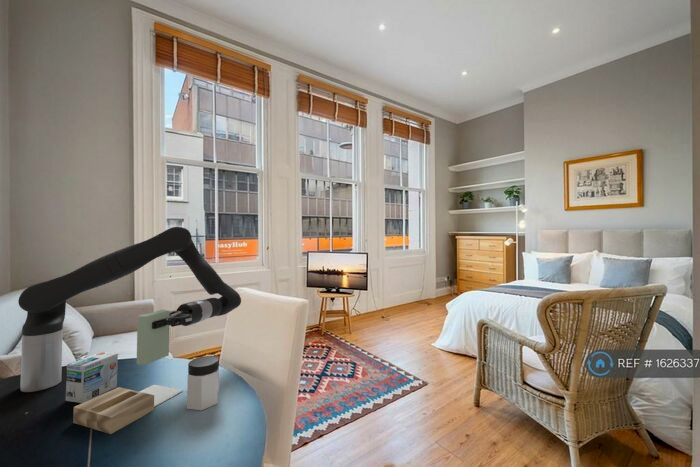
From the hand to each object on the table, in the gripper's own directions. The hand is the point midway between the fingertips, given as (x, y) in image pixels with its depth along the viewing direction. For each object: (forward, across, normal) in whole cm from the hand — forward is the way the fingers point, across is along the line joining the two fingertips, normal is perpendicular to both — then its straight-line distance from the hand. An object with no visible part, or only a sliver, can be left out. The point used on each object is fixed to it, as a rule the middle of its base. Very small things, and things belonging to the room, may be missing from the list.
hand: (148, 325), depth 90 cm
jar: (-4, +17, +22) cm, 28 cm away
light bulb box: (+3, -19, +22) cm, 29 cm away
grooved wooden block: (+9, 0, +22) cm, 24 cm away
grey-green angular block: (-2, 0, +11) cm, 11 cm away
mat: (-2, 0, +22) cm, 22 cm away
